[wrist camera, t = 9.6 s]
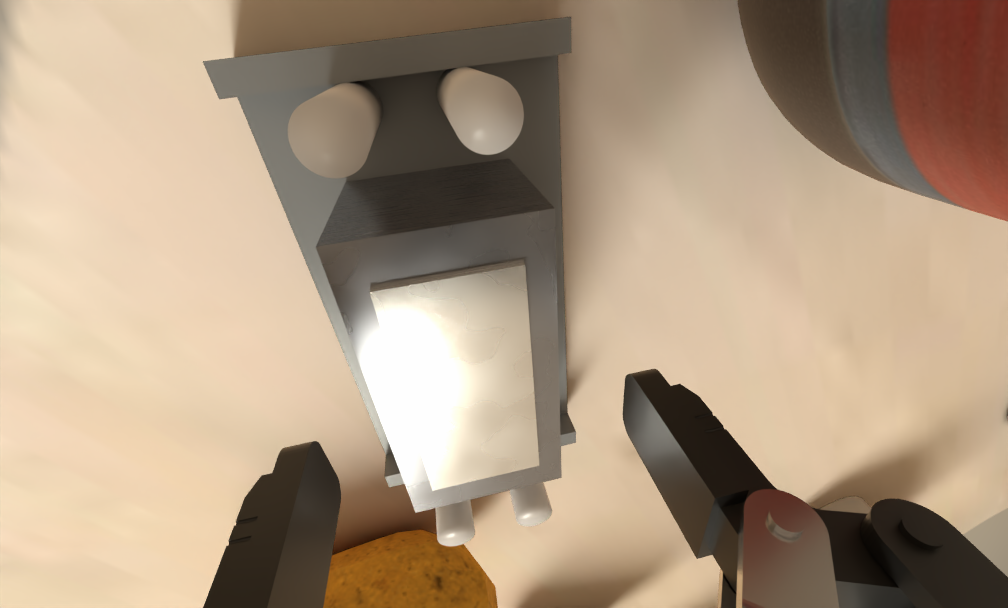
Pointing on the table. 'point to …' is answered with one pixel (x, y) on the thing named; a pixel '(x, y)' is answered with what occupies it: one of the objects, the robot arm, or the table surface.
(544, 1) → the table surface
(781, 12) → the vase
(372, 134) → the grey pegged block
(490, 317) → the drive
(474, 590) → the potato
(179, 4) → the table surface
